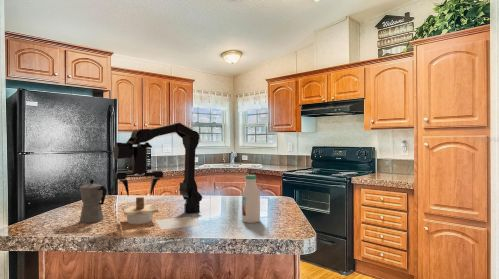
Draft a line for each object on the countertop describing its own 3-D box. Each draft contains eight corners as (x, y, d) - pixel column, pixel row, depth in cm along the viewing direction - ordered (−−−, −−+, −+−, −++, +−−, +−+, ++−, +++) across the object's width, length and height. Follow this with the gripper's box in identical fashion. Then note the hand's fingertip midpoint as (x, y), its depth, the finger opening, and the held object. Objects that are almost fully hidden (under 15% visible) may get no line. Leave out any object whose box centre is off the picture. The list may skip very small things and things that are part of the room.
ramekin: (145, 227, 126) (145, 214, 126) (120, 225, 128) (120, 212, 128) (158, 220, 137) (158, 208, 137) (135, 219, 139) (135, 207, 139)
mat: (191, 217, 141) (191, 216, 141) (201, 226, 126) (201, 224, 126) (154, 221, 134) (154, 220, 134) (161, 231, 120) (161, 229, 120)
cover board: (153, 206, 141) (153, 194, 141) (158, 212, 129) (158, 199, 129) (122, 209, 135) (122, 196, 136) (124, 215, 124) (124, 201, 124)
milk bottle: (262, 219, 137) (262, 174, 138) (256, 224, 130) (256, 176, 130) (245, 218, 140) (245, 173, 140) (239, 222, 133) (239, 175, 133)
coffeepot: (71, 221, 134) (71, 179, 135) (90, 216, 143) (91, 177, 143) (96, 225, 128) (96, 181, 128) (114, 220, 136) (115, 179, 137)
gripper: (159, 157, 144) (159, 191, 144) (115, 158, 136) (115, 193, 136) (163, 158, 134) (163, 194, 134) (116, 159, 126) (116, 197, 126)
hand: (139, 195), depth 132 cm, fingers open, 9 cm apart
